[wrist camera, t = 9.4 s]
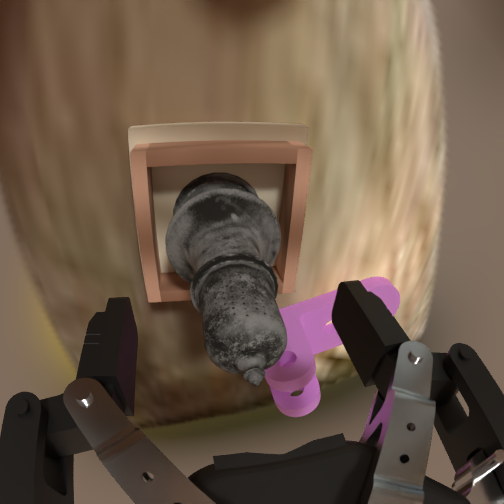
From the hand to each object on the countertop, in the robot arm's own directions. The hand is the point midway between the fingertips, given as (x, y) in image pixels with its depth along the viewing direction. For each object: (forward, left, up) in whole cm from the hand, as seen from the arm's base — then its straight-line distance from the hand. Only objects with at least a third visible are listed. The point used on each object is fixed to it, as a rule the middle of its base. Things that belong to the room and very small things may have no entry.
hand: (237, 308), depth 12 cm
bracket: (+10, +10, -10) cm, 17 cm away
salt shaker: (0, 0, -9) cm, 9 cm away
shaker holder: (0, 0, -10) cm, 10 cm away
